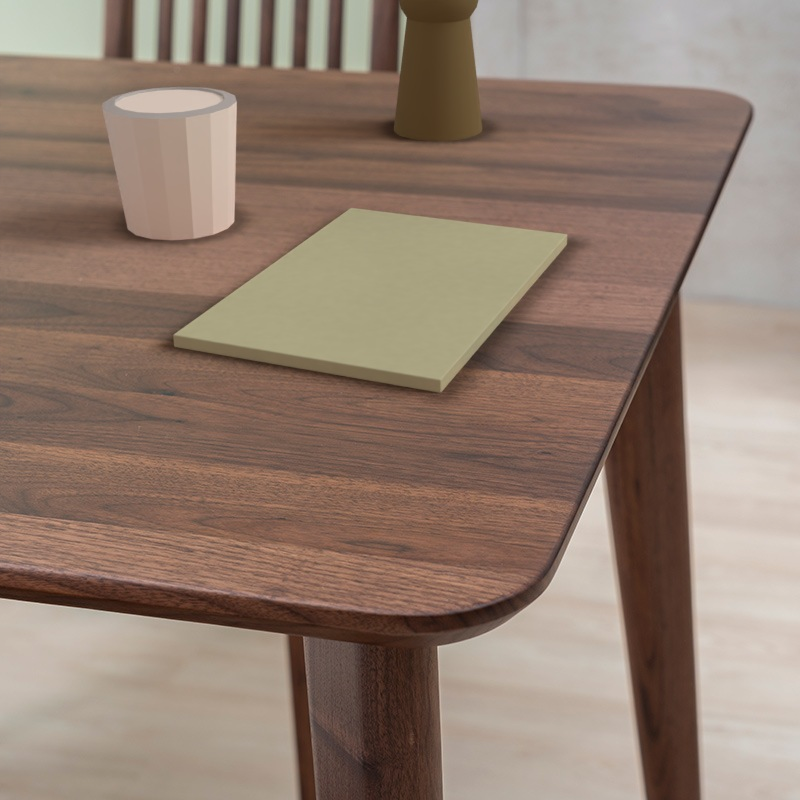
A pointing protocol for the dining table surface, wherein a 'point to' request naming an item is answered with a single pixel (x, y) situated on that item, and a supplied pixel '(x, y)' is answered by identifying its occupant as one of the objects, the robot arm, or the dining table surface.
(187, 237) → the pale pink cup
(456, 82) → the cork
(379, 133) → the dining table surface
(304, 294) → the mat
